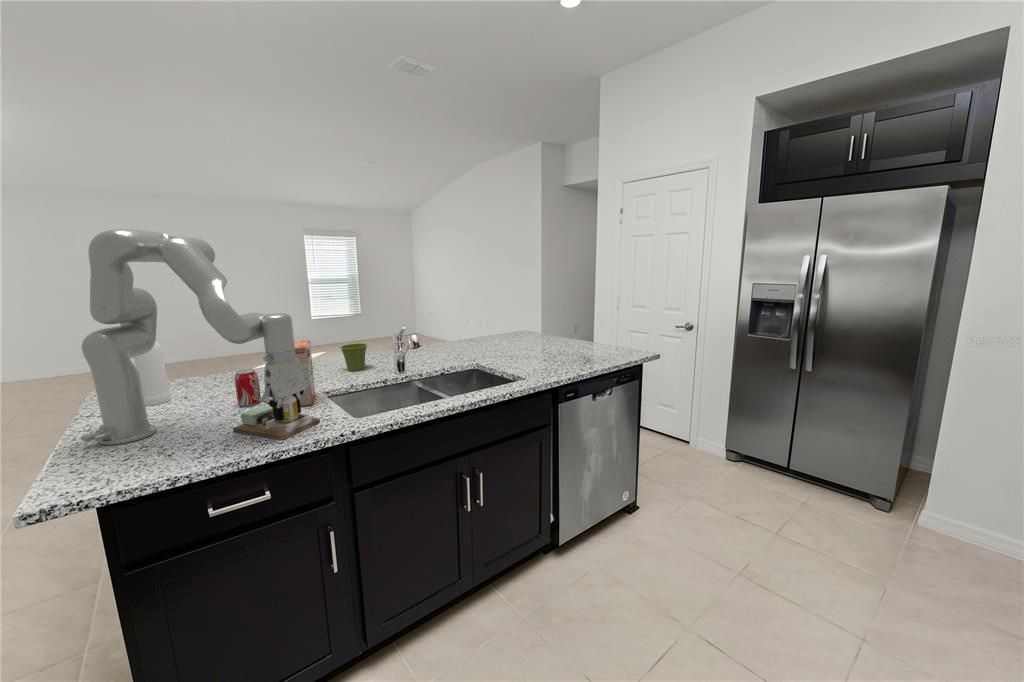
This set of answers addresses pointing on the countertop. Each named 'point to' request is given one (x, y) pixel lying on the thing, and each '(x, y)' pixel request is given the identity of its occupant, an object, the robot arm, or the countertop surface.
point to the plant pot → (354, 356)
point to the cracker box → (306, 371)
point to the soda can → (247, 387)
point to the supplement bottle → (289, 409)
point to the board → (277, 427)
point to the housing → (256, 414)
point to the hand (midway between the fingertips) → (287, 415)
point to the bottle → (153, 376)
